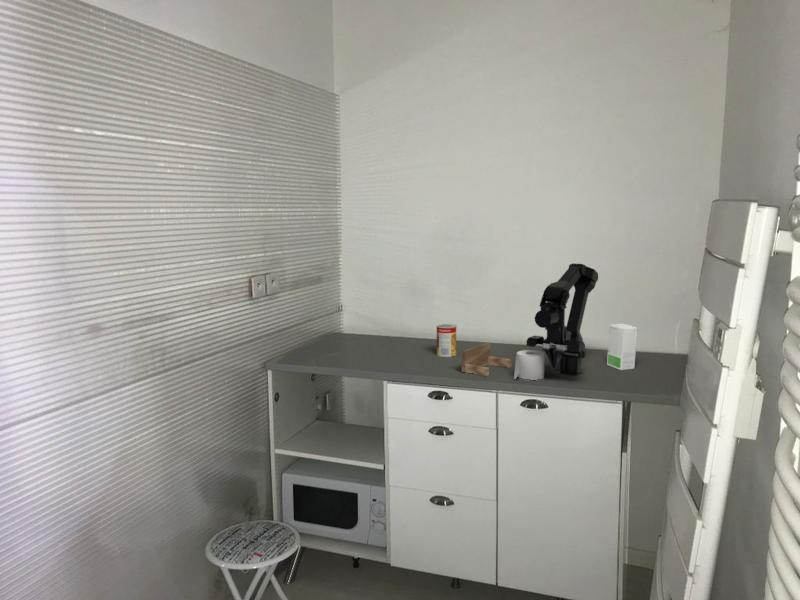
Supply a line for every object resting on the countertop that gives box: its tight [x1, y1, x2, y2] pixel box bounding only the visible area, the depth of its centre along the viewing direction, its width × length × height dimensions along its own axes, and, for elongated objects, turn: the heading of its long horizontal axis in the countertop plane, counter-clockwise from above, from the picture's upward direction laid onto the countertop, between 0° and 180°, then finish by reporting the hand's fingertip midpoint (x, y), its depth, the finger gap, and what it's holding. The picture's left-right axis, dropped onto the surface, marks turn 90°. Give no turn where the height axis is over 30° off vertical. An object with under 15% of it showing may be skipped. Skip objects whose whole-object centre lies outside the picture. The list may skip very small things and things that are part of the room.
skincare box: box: [606, 322, 638, 371], centre depth 237 cm, size 8×7×16 cm
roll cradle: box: [461, 342, 512, 376], centre depth 236 cm, size 10×17×8 cm, turn 141°
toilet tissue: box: [513, 349, 546, 381], centre depth 224 cm, size 9×13×9 cm
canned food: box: [436, 323, 457, 358], centre depth 260 cm, size 8×8×12 cm
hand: (554, 368), depth 219 cm, fingers closed
